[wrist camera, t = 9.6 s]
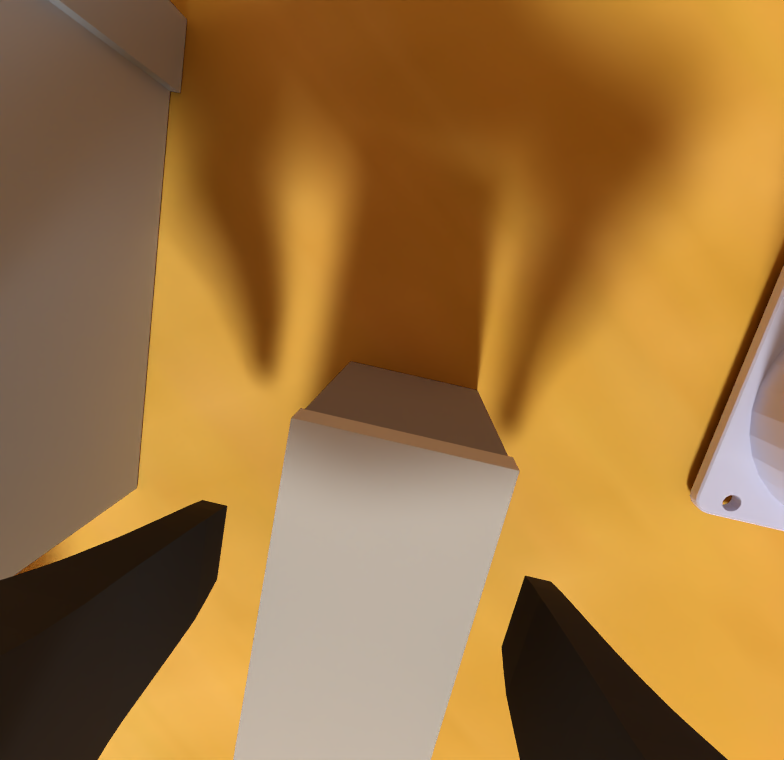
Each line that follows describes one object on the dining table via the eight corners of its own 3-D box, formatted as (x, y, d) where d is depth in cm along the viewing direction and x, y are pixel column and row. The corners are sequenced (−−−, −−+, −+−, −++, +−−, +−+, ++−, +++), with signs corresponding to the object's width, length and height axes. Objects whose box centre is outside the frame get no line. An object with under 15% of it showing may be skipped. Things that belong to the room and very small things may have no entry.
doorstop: (478, 388, 13) (519, 470, 8) (419, 606, 15) (415, 808, 9) (349, 359, 14) (291, 417, 8) (306, 579, 15) (232, 762, 10)
